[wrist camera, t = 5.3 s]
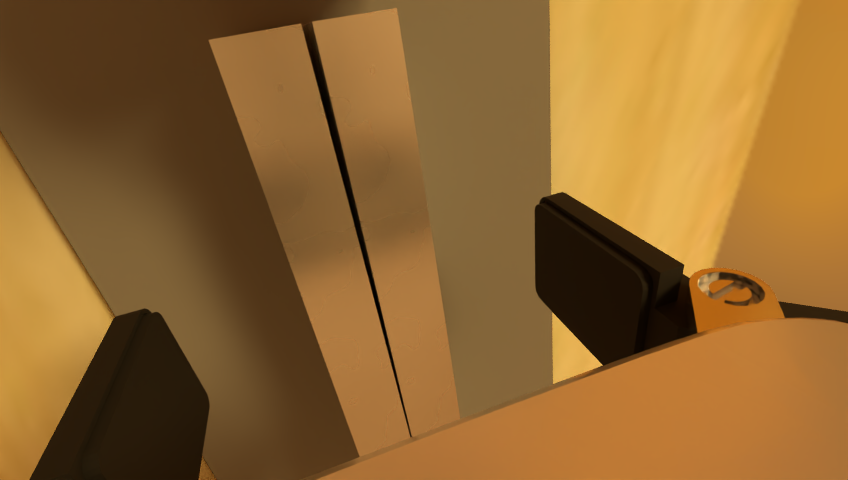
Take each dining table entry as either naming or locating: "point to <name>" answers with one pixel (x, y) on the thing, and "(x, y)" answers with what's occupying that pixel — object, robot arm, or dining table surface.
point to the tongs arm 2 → (387, 201)
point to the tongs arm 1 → (314, 221)
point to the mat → (249, 211)
